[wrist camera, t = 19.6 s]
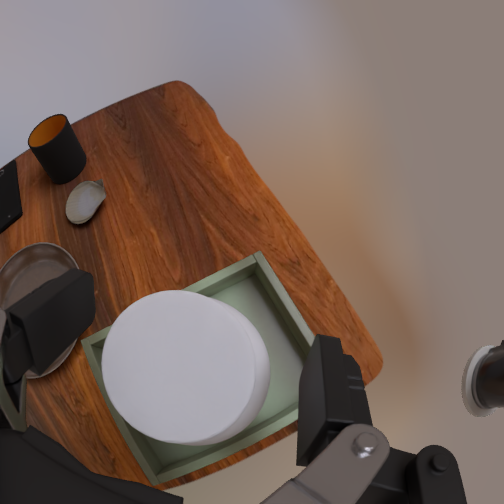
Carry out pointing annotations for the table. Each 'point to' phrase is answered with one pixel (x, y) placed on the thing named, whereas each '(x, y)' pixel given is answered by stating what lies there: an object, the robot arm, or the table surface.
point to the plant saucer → (34, 280)
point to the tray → (280, 356)
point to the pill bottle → (185, 368)
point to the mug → (57, 149)
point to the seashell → (85, 201)
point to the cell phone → (9, 196)
